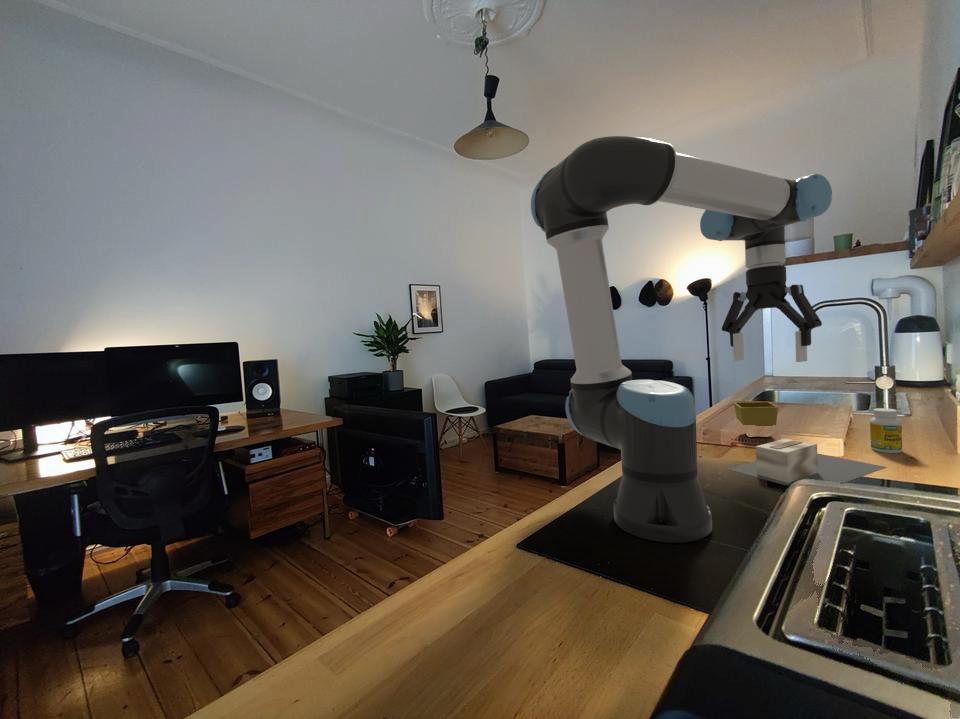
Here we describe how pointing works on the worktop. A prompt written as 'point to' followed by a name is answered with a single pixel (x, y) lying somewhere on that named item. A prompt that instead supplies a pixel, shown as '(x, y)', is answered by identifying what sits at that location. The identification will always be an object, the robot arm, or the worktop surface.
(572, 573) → the worktop surface
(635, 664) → the worktop surface
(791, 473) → the pale grey rectangular box
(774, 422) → the flower pot
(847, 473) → the mat
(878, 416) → the supplement bottle
